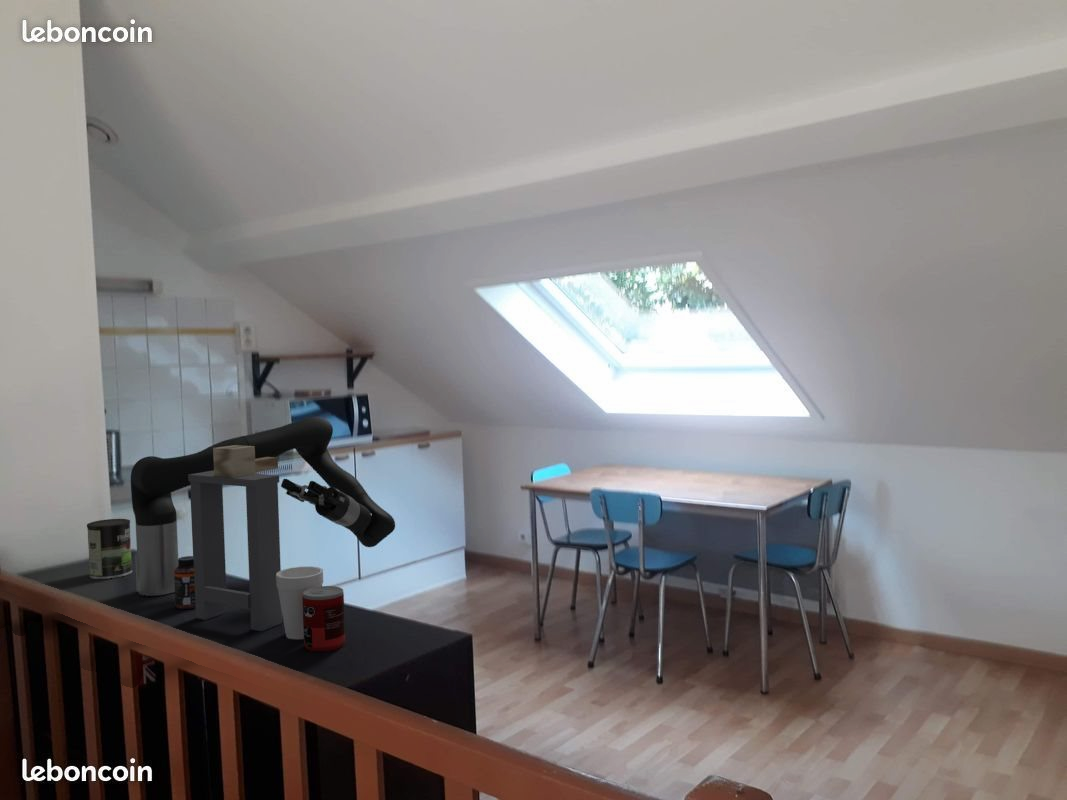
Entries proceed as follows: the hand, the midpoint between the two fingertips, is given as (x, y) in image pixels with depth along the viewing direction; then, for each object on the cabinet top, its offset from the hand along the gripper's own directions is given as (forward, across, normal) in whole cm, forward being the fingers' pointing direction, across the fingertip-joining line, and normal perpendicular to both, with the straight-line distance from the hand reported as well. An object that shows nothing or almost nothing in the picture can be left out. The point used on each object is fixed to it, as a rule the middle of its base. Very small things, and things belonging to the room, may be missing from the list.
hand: (296, 483), depth 198 cm
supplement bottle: (0, -19, +32) cm, 37 cm away
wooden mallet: (+14, 0, +3) cm, 15 cm away
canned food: (+5, +28, +35) cm, 45 cm away
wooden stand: (+2, 0, +33) cm, 33 cm away
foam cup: (+3, +19, +34) cm, 39 cm away
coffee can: (-9, -62, +27) cm, 68 cm away
